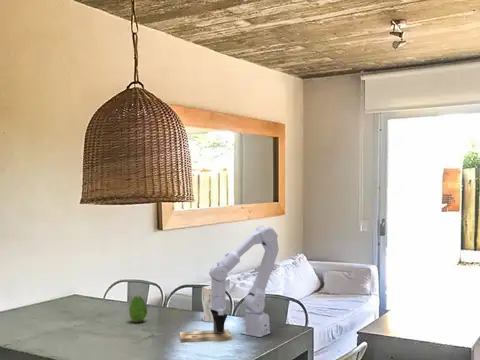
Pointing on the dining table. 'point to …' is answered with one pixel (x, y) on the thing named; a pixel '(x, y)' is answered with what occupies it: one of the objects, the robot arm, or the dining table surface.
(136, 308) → the avocado
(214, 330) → the fader knob
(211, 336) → the fader board
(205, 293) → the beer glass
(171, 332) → the dining table surface
